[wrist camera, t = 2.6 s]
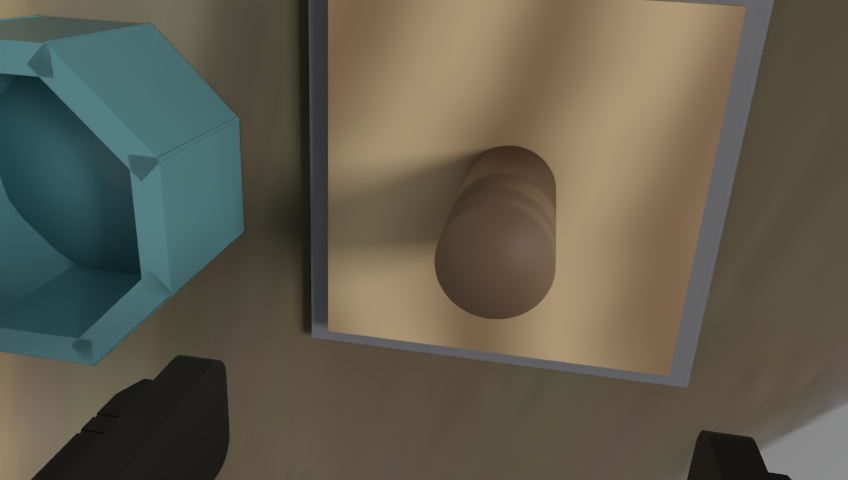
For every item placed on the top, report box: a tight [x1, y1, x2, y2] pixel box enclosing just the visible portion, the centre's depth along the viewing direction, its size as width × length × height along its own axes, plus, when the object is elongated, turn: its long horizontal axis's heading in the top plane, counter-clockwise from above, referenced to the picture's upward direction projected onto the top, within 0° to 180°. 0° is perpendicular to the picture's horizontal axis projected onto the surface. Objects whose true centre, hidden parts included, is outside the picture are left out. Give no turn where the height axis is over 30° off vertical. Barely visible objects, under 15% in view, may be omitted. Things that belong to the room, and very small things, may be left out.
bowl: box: [0, 15, 245, 366], centre depth 26 cm, size 11×11×6 cm
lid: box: [328, 0, 747, 376], centre depth 22 cm, size 13×13×8 cm
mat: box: [308, 0, 774, 388], centre depth 26 cm, size 15×15×1 cm
